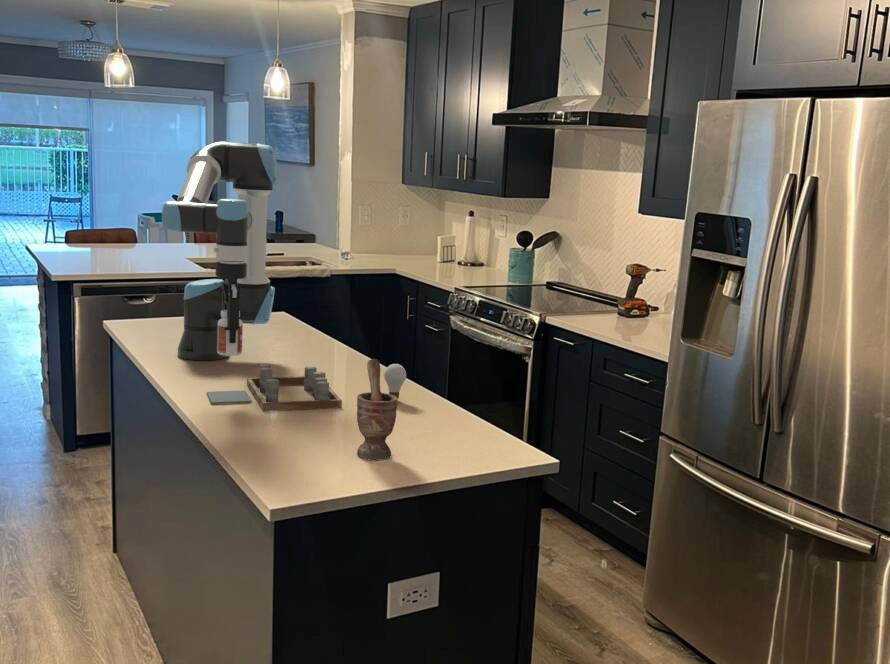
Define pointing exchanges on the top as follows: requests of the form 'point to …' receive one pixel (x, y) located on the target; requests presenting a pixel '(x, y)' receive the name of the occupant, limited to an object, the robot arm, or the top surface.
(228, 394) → the mat
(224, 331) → the pill bottle
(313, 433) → the top surface
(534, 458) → the top surface
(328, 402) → the tray
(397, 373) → the light bulb
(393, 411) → the mortar and pestle
